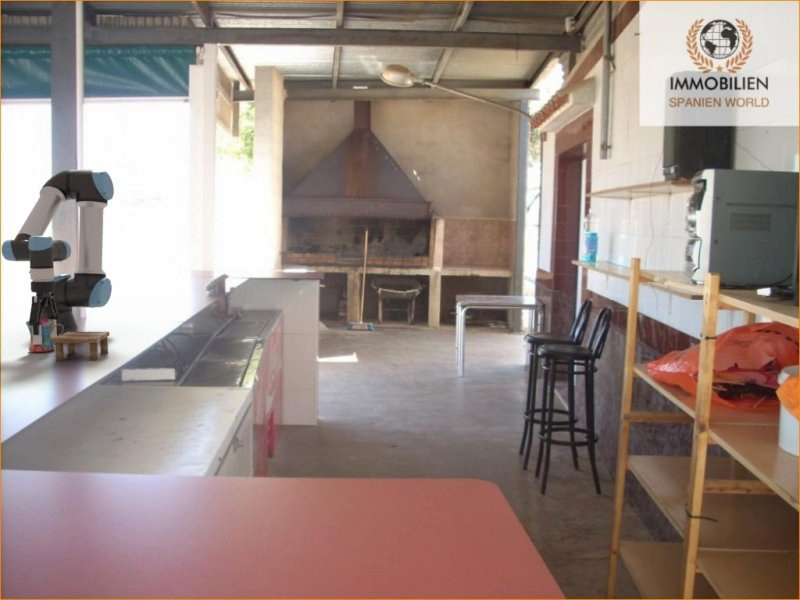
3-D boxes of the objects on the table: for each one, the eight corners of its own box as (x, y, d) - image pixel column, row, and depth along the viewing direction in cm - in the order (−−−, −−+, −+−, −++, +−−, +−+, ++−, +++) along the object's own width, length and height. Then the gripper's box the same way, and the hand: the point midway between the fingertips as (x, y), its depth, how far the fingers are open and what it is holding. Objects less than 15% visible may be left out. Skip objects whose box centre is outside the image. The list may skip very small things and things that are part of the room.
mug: (27, 354, 261) (25, 324, 259) (27, 349, 269) (25, 320, 268) (65, 351, 266) (64, 321, 265) (64, 347, 274) (62, 318, 273)
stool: (68, 352, 264) (67, 331, 263) (110, 352, 265) (109, 331, 264) (53, 361, 250) (52, 339, 250) (97, 360, 252) (96, 338, 251)
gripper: (45, 277, 276) (47, 335, 279) (16, 283, 252) (19, 347, 254) (66, 277, 277) (68, 335, 279) (39, 283, 252) (42, 347, 255)
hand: (45, 341), depth 267 cm, fingers open, 13 cm apart
